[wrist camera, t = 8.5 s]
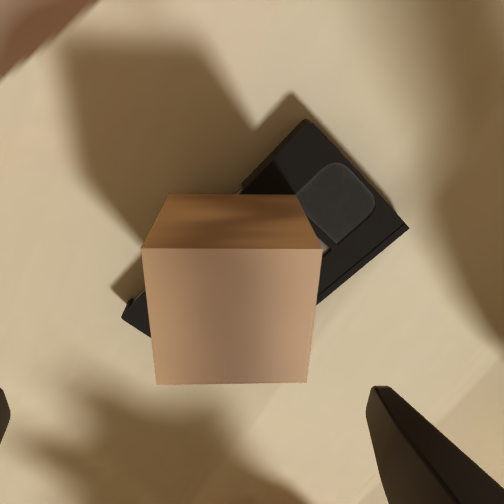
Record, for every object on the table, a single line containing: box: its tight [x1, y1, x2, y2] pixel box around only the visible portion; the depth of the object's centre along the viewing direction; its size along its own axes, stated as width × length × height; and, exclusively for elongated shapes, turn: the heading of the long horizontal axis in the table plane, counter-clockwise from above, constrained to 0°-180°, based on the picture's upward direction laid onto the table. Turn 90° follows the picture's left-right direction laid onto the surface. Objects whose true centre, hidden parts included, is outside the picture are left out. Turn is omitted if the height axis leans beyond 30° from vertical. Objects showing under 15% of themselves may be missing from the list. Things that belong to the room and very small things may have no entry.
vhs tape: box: [121, 119, 409, 338], centre depth 21 cm, size 8×14×2 cm, turn 136°
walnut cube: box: [141, 193, 323, 385], centre depth 16 cm, size 6×6×6 cm
